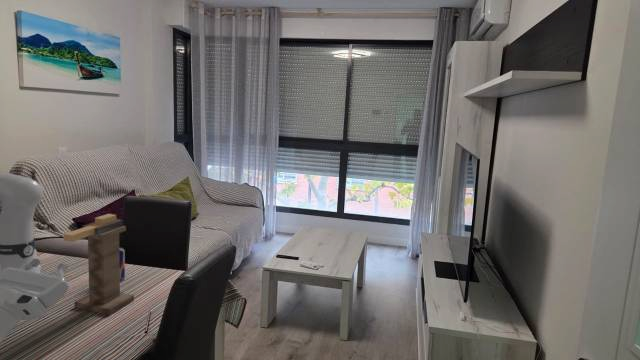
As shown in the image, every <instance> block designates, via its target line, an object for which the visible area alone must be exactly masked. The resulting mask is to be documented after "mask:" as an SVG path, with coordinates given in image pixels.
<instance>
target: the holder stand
mask: <svg viewBox="0 0 640 360" xmlns="http://www.w3.org/2000/svg"><path fill="white" fill-rule="evenodd" d="M93 224H95V221H94V222H91V223H87V224H85V225H82V228H84V227H87V226H90V225H93ZM126 231H127V227H126V225H124V219H117V218H116V221H115V222H112V223H109V224H106V225H103V226H100V227H97V228H95V234H93V235H91V236H88V237H87V252H88V253H87V254H88V255H87V257H88V259H87V260H88V263H87V264H88V294H86V295H85V296H83V297H81V298H79V299H77V300H76V301H74V308H76V309H79V310H80V309H81V310H84V311H89V312H93V313H94V312H95V313H99V314H103V315H106V316H107V315H108V316H112V315H113V314H115V313H116V312H118V311H120V310H122V309H123V308H124V307H126V306H128V305H129V304H131V303H132V302H134V301H135V295H134V294H129V293H124V292H121V290H120V289H121V285H120V284H121V283H120V282H121V281H120V261H119V248H120V233H123V232H126Z"/></svg>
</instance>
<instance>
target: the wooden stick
mask: <svg viewBox="0 0 640 360" xmlns="http://www.w3.org/2000/svg"><path fill="white" fill-rule="evenodd" d="M116 219H117V214H114V213H113V214H112V213H107V214H104V215H100V216H97V217H94V222H95V224H93V225H90V226H87V227H84V228H83V227H81V228H78V229H75V230H72V231H68V232H66V233H63V241H65V242H71V243H73V242H76V241H78V240H81V239H85V238H88V236H91V235H93V234H95V228H97V227H100V226H103V225H106V224H109V223H112V222H115V221H116Z"/></svg>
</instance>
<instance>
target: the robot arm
mask: <svg viewBox="0 0 640 360" xmlns="http://www.w3.org/2000/svg"><path fill="white" fill-rule="evenodd" d="M43 197H44V188H43V187H42V185H41V184H40V183H39V182H37V181H35V180H34V179H33V178H31V177H28V176H22V175H18V174H14V173H10V172H0V207H1V208H0V209H1V210H0V344H1V343H2V342H3V341H4V340H5V339H6V337H7V335H8V333H9V332H10V331H11V330H12V329H13V328H14V327H16V326H17V325H18V324H19V323H20V322H21V321H26V320H27V321H28V320H31V319H33V320H34V319H41V318H44V317H45V316H46V315H47V314H48V313H49V312H48V309H51V308H52V307H53V306H56V304H57V303H58V302H60V300H61V298H63V297H64V296H65V294H66V293H67V292H68V290H69V288H70V284H69V282H68V281H67V280H66V279H65V277H64V275H65V272H66V271H67V270H68V269H69V268H68V265H67V264H66V263H60V264H59V265H57V266H56V268H57V273H56V272H55V273H54V274H53V275H52V274H51V275H50V274H46V273H41V269H42V267H41V265H40V264H41V260H40V259H39V258H38V251H37V249H36V244H37V243H36V239H35V237H34V215H35V211H36V207H37V205H38V204H39V203H40V202H41V201H42V199H43Z"/></svg>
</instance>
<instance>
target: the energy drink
mask: <svg viewBox="0 0 640 360" xmlns="http://www.w3.org/2000/svg"><path fill="white" fill-rule="evenodd" d="M125 257H126V256H125V249H124V248H123V247H119V261H120V282H123V281H124V280H125V278H126V276H125V275H126V272H125V271H126V267H125V264H126V262H125V261H126V260H125V259H126V258H125Z"/></svg>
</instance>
